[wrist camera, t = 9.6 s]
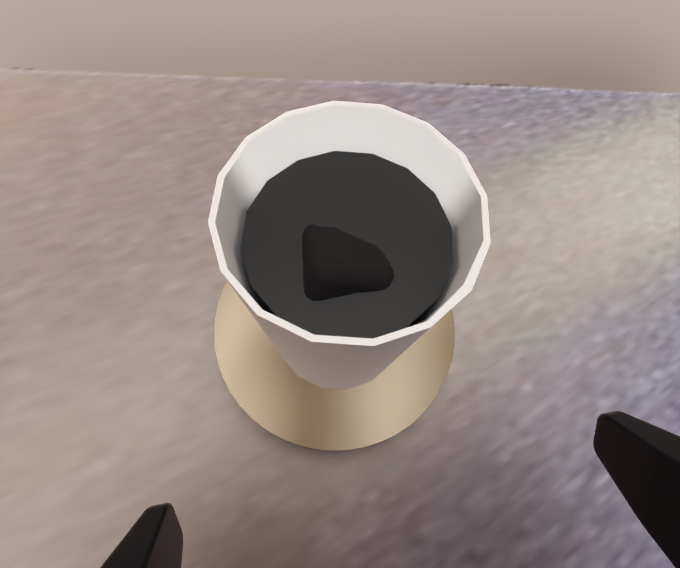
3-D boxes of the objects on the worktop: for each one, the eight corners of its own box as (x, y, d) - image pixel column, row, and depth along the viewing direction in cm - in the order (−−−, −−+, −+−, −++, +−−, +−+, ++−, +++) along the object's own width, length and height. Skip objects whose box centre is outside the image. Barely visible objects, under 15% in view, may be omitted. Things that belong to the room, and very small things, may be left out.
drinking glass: (424, 390, 18) (526, 327, 9) (270, 410, 18) (210, 366, 8) (396, 253, 21) (454, 91, 11) (260, 267, 20) (205, 110, 11)
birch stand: (430, 257, 25) (448, 223, 21) (437, 455, 21) (462, 456, 17) (245, 247, 25) (232, 211, 21) (217, 445, 21) (194, 444, 17)
